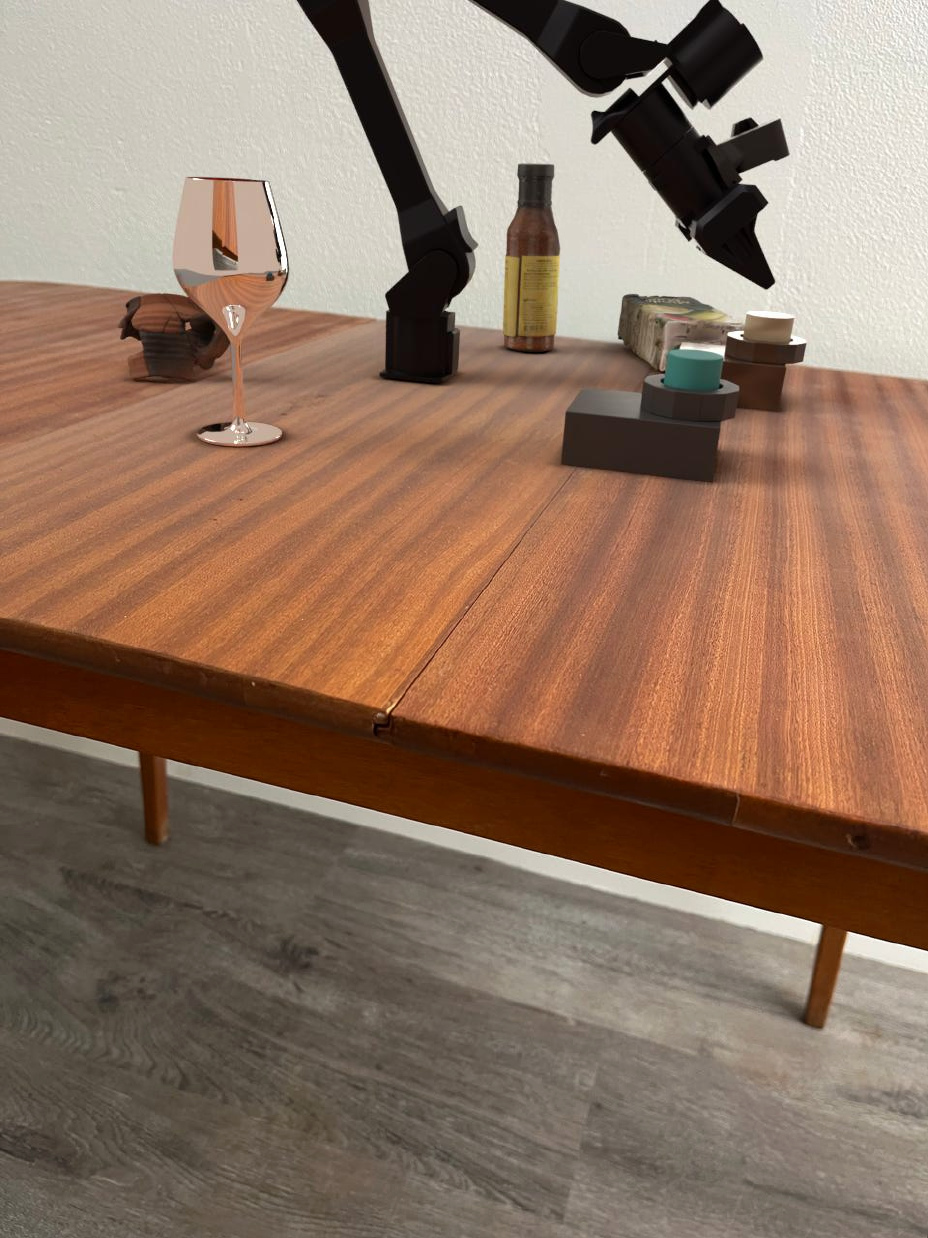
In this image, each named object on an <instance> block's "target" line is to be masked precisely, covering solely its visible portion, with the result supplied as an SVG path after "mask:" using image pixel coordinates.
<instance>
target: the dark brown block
mask: <svg viewBox="0 0 928 1238" xmlns="http://www.w3.org/2000/svg"><path fill="white" fill-rule="evenodd" d="M664 378H665V373H657V374H651V375H647V376H645V378H644V379H643V382H642V389H641V392H635V391H624V390H617V389H616V390H615V389H606V388H605V389H604V388H594V387H587V386H582V388H581V389H580V391H579V392H578V394H577V395H576V396H575V397H574V399H573V401H572V402H571V403H570V405H569V406H568V408H567V409H566V411H565V415H564V424H563V425H564V426H563V435H562V446H561V454H560V455H561V456H560V465H561V466H569V467H571V466H572V467H579V468H587V469H594V470H595V469H596V470H604V471H612V472H621V473H629V474H637V475H645V476H653V477H654V476H655V477H663V478H671V479H679V480H688V481H695V482H696V481H697V482H705V483H713V478H714V472H715V465H716V459H717V453H718V447H719V441H720V435H721V429H722V428H721V427H722V422H724V421H725V422H726V421H728V420H732V419H736V414H737V409H738V408H737V402H738V396H739V386H738V385H736V384H733V383H731V382H729V381H726V380H722V379H720V384H719V389H718V390H701V391H700V390H690V389H681V388H676V387H671V386H667V385H665V384H664Z"/></svg>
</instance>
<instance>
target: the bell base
mask: <svg viewBox="0 0 928 1238" xmlns="http://www.w3.org/2000/svg"><path fill="white" fill-rule="evenodd" d="M743 333H744V331H736V332H729V333H728V334H727V340H726V346H722V345H711V344H700V343H689V342H682V343H681V346H680V349H691V350H702V351H709V352H713V353H717V354H720V355H722V356H723V357H724V359H723V366H722V372H721V378H720V379H722V380H726V381H729V382H731V383H733V384H736V385H738V386H739V396H738V402H737V408H736V409H744V410H745V409H747V410H755V411H763V412H764V411H765V412H776V413H778V412H779V409H780V404H781V399H782V394H783V388H784V383H785V377H786V371H787V365H795V364H799V363H803V362H804V358H805V353H806V348H807V343H808V342H807V341H806V339H805V338H802V337H798V336H795V335H791V339H790V342H766V341H757V340H751V339H746V338H743Z"/></svg>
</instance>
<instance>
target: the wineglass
mask: <svg viewBox="0 0 928 1238" xmlns="http://www.w3.org/2000/svg"><path fill="white" fill-rule="evenodd" d="M178 207H179V208H178V213H177V219H176V224H175V230H174V236H173V243H172V244H173V245H172V254H171V255H172V256H171V257H172V260H171V261H172V269H173V273H174V276H175V278H176V279H175V280H176V281H177V283H178V285H179V286H180V288H181V290H182V291H183V292H184V293H185V296H186V297H189V298H190V299H191V300H192V301H193V302H194V303H195V304H196V305H197V306H198V307H199V308H200V309H201V310H202V311H203V312H205V313H206V314H207V315H208V316H209V317H210V318H211V319H212V320H214V321H215V322H216V323H217V324H218V325H219V326H220V327H221V328H222V330H223V331H224V332H225V334H226V335H227V337H228V339H229V341H230V345H229V347H230V348H229V349H230V364H231V365H230V366H231V380H232V381H231V384H232V420H231V421H226V422H217V423H212V424H208V425H205V426H203V427H200V428H199V429H198V430H197V432H196V436H197V438H198V439H199V440H200V441H202V442H205V443H207V444H212V445H216V446H225V447H252V446H253V447H254V446H261V445H262V446H263V445H267V444H270V443H274V442H277V441H278V440H280V439H281V438H282V436H283V431H282V430H281V429H280V428H278V427H277V426H274V425H271V424H268V423H262V422H254V421H247V418H246V411H245V409H246V408H245V397H244V396H245V395H244V377H243V376H244V375H243V354H242V353H243V352H242V351H243V349H242V342H243V339H244V337H245V335H246V334H247V332H248V331H249V329H250V328H251V327H252V325H254V324H255V323H256V322H257V321H258V320H259V319H260V318H261V317H262V316H263V315H264V314H265V313H266V312H268V310H269V309H270V308H272V306H273V305H274V304H275V303H276V302H277V301H278V300H279V299H280V297H281V296H282V294H283V292H284V291H285V289H286V287H287V286H288V282H289V278H290V274H291V259H290V252H289V248H288V243H287V238H286V235H285V230H284V227H283V223H282V220H281V215H280V212H279V208H278V204H277V201H276V197H275V194H274V189H273V187H272V184H271V181H270V180H264V179H256V178H255V179H254V178H253V179H252V178H241V177H240V178H239V177H237V178H236V177H218V176H217V177H216V176H185V177H184V182H183V186H182V192H181V196H180V203H179V206H178Z"/></svg>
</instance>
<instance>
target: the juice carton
mask: <svg viewBox="0 0 928 1238" xmlns="http://www.w3.org/2000/svg"><path fill="white" fill-rule="evenodd" d="M744 327H745V322H742V320H741V321H740V320H739V319H737V318H735V317H733V316H731V315H729V314H728V313H726V312H724V311H722V310H720V309H718V308H715V307H713V306H711V305H709V304H706V303H703V302H701V301H699V300H697V299H696V298H694V297H690V296H671V295H670V296H667V295H662V296H660V295H649V296H647V295H640V294H638V293H628V294H625V295H623V296H622V298H621V306H620V314H619V319H618V328H617V340H619V341H620V340H621V341H623V345H624V346H625V347H628V348H629V350H630V349H631V351H632V352H633V354H635V355H637V357H639V358H640V359H642V360H644V362H646V363H648V364H650V366H651V367H652V368H654V369H655V370H656V371H658V370H659V371H660V372H665V371H666V364H667V356H668V352H669V351H671V350H677V349H680V346H681V343H682V342H689V343H700V344H711V345H722V346H726V340H727V334H728V333H729V332H736V331H744Z"/></svg>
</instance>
